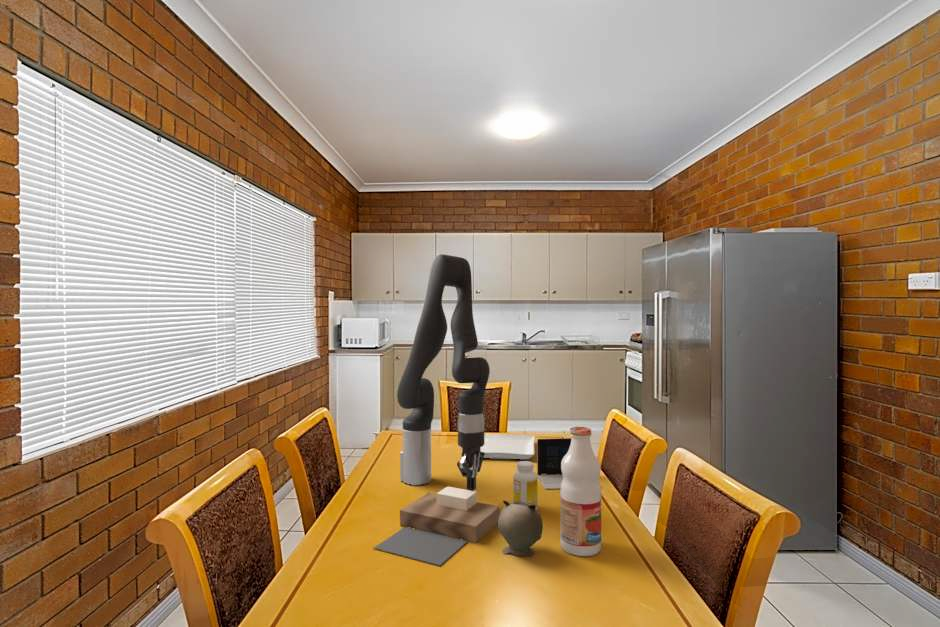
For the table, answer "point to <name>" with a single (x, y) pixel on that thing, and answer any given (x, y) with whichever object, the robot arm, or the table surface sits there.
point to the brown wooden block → (450, 518)
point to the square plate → (508, 446)
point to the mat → (422, 545)
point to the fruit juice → (580, 496)
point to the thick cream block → (456, 498)
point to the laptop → (551, 461)
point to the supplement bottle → (525, 484)
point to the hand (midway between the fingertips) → (471, 489)
